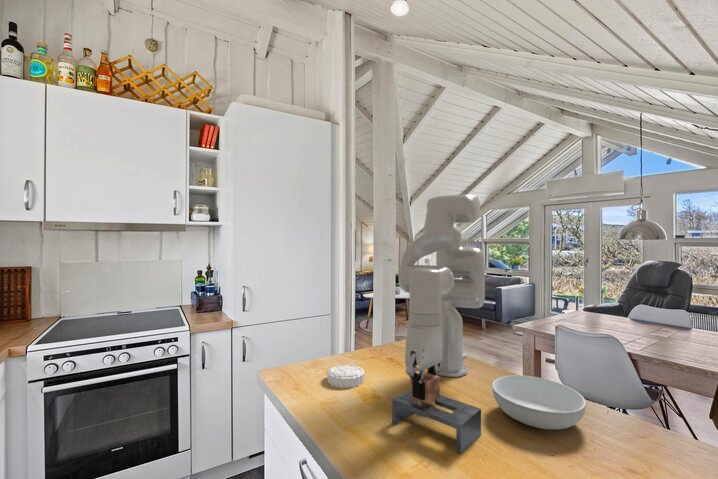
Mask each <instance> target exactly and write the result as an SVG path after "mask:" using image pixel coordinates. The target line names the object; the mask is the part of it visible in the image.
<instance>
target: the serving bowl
mask: <svg viewBox="0 0 718 479" xmlns="http://www.w3.org/2000/svg"><path fill="white" fill-rule="evenodd" d="M491 388H492V394H493V397H494V399H495V402H496V404H497V405H498V406H499V408H500V409H501V410H502V411H503V412H504V413H505V414H506V415H508V416H509V417H511V418H512V419H514V420H516V421H517V422H519V423H522V424H525V425H527V426H529V427H534V428H538V429H543V430H563V429H565V430H566V429H568V428H570V427H571V428H572V427H573V426H575V425H576V424H578V423H579V422H580V421H581V420H582V418H583V417H584V414H585V412H586V407H587V402H586V399H585V398H584V396H583V395H582V394H581V393H579V392H578V391H577V390H575V389H573V388H571V387H570V386H568V385H566V384H563V383H560V382H557V381H555V380H551V379H548V378H547V379H546V378H543V377H542V378H541V377H537V376H532V375H523V374H522V375H520V374H519V375H516V374H514V375H504V376H501V377H498V378H496V379H495V380H493V381H492V384H491Z"/></svg>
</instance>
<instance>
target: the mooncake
mask: <svg viewBox="0 0 718 479" xmlns="http://www.w3.org/2000/svg"><path fill="white" fill-rule="evenodd" d="M365 373H366V372H365V370H364V368H362V367H360V366H357V365H355V364H339V365H335V366H333V367H330V368H329V369H328V370H327V378H326V379H327V383H328V384H329V385H330V386H331V387H335V388H340V389H350V388H356V387H359V386H361V385H363V384H364V383H365V381H366V379H365Z"/></svg>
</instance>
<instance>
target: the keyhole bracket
mask: <svg viewBox="0 0 718 479" xmlns="http://www.w3.org/2000/svg"><path fill="white" fill-rule="evenodd" d="M418 403H419V401H418V400H416V399H413V398H411V388H409V389H407V390H405V391H404V392H402V393H401V394H398V395H397V396H395V397H393V398H392V399H391V424H392V425H394V426H396V425H397V424H400V422H402V421H404V420H406V419H407V418H409V417H410V416H412V415H413V414H416V413H418V414H420V415H423V416H425V417H424V418H428V419H430V420H433V421H434V422H435V421H436V422H438V423H439V424H443V425H446V426H448V427H450V428H453V429H455V430H456V431H455V432H456V433H455V434H456V435H455V436H456V443H455V445H456V454H458V455H462V454H464V452H466V450H467V449H469V447H471V446H472V445H473V444H474V443H475V442H476V441H477V440H478V439H479V437H481V435H482V408H481V407H480V408H479V407H478V406H474V405H470V404H468V403H465V402H462V401H460V400H456V399H453V398H450V397H448V396H444V395H441V394H440V397H439V398H438V399H436V400H435V401H434V405H435V407H436V406H439V407H441V408H444V409H447V410H450V411H452V412H448V411H446V410H443V409H441V408H437V407H436V408H435V407H433V406H430V405H427V406H425V407H424V408H423V407H421V406H418V405H416V404H418Z"/></svg>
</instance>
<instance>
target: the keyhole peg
mask: <svg viewBox="0 0 718 479" xmlns="http://www.w3.org/2000/svg"><path fill="white" fill-rule="evenodd" d="M417 374H418V375H420V372H418V373H417ZM440 378H441V377H440V376H439V375H433V374H429V373H428V372H426V371H425V373H424V380H423V382H424V383H425V399H424V400H420V399H418V398H415V397H413V396H412V381H411V380H410V389H411V398H413V399H416V400H418V404H416V405H418V406H421V407H423V408H424V407H425V406H427V405H430V406H433V407H435V408H437V407H436V405H435V404H433V402H435V400H436V399H438V398H439V397H440V395H441V393H440V392H441V391H440V390H441V389H440V386H441V384H440V383H441V382H440V381H441V380H440ZM415 415H417V416H419V417H422V418H426V417H425V416H423V415H420V414H418V413H415Z"/></svg>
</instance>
